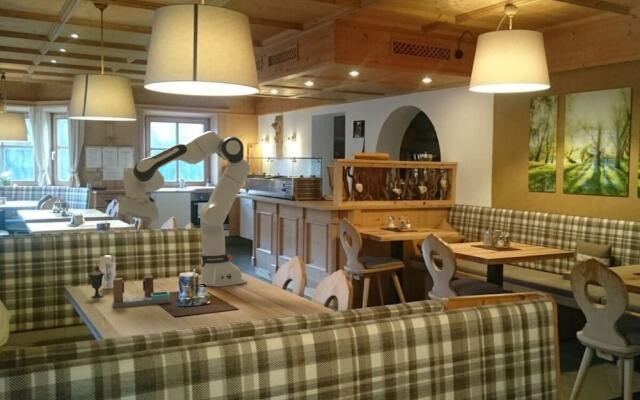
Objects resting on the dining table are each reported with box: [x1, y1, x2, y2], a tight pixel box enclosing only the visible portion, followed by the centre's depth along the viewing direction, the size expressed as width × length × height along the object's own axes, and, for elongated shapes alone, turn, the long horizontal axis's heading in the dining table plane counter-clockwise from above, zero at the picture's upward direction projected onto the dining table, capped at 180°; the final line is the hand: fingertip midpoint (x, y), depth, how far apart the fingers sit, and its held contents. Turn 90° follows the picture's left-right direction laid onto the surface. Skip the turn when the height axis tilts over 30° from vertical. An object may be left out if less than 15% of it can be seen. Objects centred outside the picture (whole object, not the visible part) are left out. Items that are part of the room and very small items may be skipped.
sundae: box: [88, 263, 104, 299], centre depth 253 cm, size 7×7×15 cm
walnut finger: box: [142, 275, 155, 297], centre depth 250 cm, size 4×4×9 cm
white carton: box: [99, 254, 116, 290], centre depth 274 cm, size 7×7×15 cm
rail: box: [112, 277, 171, 309], centre depth 239 cm, size 22×7×11 cm, turn 111°
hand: (141, 225), depth 260 cm, fingers open, 8 cm apart
